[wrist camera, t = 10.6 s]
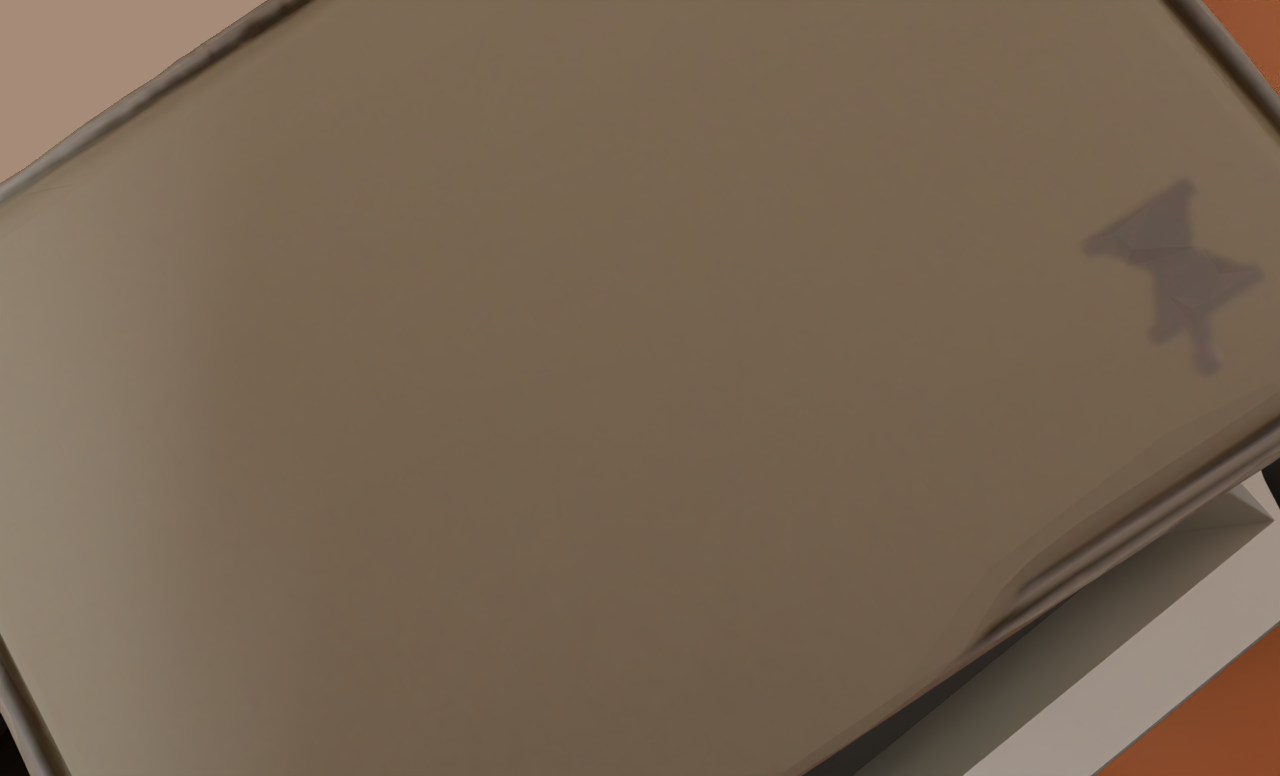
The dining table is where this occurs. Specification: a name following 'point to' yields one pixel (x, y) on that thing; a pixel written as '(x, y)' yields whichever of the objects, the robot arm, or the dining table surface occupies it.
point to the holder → (1096, 658)
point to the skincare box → (611, 373)
